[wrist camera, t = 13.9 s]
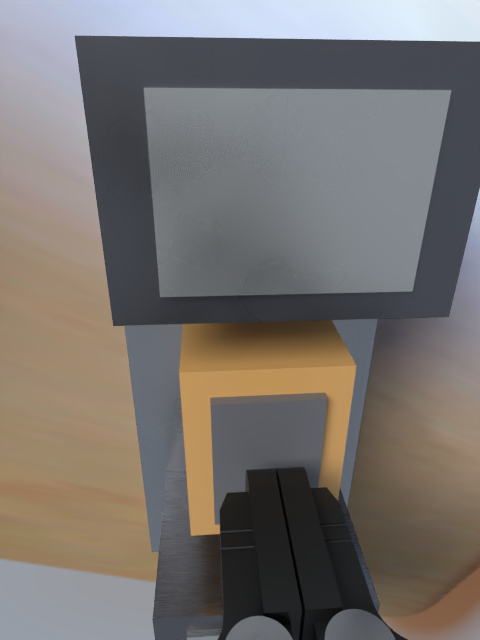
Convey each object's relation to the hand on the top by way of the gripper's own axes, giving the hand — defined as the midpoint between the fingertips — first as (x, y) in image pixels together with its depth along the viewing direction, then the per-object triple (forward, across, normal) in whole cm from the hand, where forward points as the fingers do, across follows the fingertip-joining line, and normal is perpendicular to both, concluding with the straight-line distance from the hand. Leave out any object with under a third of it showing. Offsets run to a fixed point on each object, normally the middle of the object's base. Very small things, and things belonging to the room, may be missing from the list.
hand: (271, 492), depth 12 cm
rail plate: (+8, 0, 0) cm, 8 cm away
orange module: (+6, 0, 0) cm, 6 cm away
